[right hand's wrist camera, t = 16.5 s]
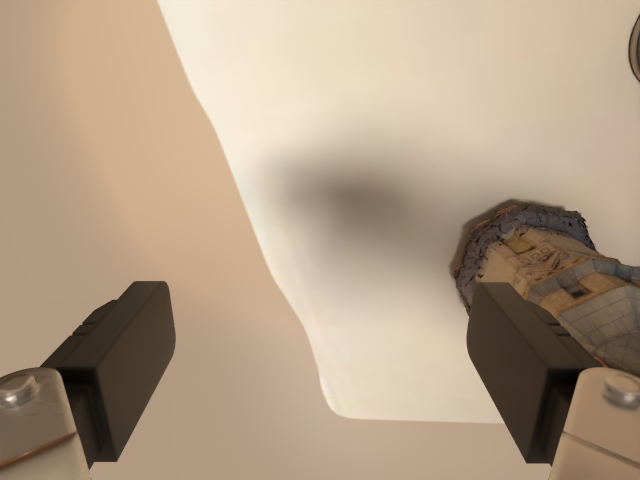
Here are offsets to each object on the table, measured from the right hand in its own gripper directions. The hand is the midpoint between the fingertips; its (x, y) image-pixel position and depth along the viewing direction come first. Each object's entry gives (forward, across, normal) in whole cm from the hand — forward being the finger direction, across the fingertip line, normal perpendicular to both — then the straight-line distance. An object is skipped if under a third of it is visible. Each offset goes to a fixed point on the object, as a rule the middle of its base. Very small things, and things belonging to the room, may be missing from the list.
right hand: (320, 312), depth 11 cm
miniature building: (+32, -20, +12) cm, 40 cm away
